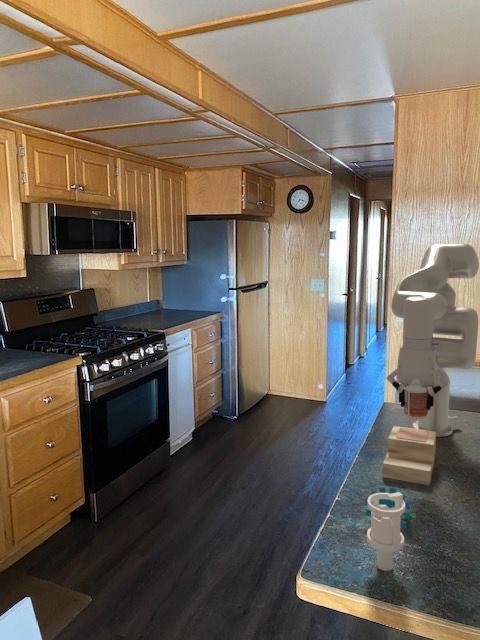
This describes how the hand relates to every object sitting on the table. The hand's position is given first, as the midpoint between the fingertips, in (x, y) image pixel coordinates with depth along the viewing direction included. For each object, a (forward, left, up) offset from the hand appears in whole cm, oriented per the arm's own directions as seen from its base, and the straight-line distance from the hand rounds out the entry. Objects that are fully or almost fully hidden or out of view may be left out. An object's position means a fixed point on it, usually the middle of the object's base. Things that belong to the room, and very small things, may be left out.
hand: (415, 406), depth 134 cm
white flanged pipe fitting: (+32, +31, -19) cm, 48 cm away
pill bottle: (0, 0, -3) cm, 3 cm away
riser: (0, -2, -19) cm, 19 cm away
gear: (+22, +20, -19) cm, 35 cm away
